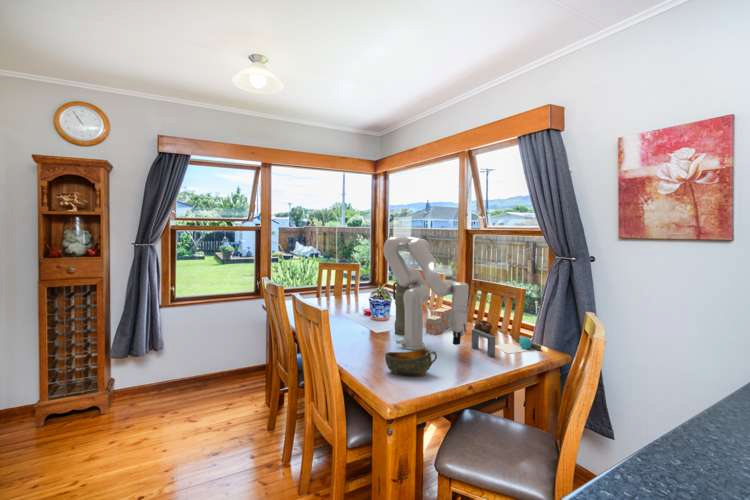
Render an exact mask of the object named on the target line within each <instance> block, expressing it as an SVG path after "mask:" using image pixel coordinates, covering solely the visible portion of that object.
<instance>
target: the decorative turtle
mask: <svg viewBox="0 0 750 500" xmlns="http://www.w3.org/2000/svg"><path fill="white" fill-rule="evenodd" d="M492 328H493V325H492V324H491V323H490V322H489V321H486V320H479V321H478V322H475V324H474V326H473V330H474V329H477V330H480V331H482V332H485V333H487V334H490V332H491V331H492Z"/></svg>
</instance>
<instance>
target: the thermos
mask: <svg viewBox="0 0 750 500" xmlns="http://www.w3.org/2000/svg"><path fill="white" fill-rule="evenodd" d="M392 285H393V286H392V288H393V289H392V294H393V295H392V297H393V298H392V299H393V300H394V304H395V320H394V334H395V335H398V336H405V307H404V300H403V296H404V293H405V291H406V290H407V289H408V288H410V287H409V286H405V287H403V286H401V285H399V283H398V282H397V280H395V282H394V283H393V284H392Z"/></svg>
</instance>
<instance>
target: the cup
mask: <svg viewBox="0 0 750 500" xmlns="http://www.w3.org/2000/svg"><path fill="white" fill-rule="evenodd" d="M431 355H434V358H433V360H432V357H431ZM384 357H385V363H386V366H387V368H388V369H389V371H390V372H391V374H392V375H395V376H399V377H406V378H420V377H424V376H425V375H426V373H427V372H428V371H429V370H430V368H431V367H432V365H433V364H434V363H435V361H436V360H437V359H438V354H437V352H436V351H433V350H432V351H430V350H429V349H427V348H426V349H425V348H423V349H420V350H410V351H402V352H397V351H395V352H393V351H392V352H391V351H390V352H389V351H388V352H385V353H384Z"/></svg>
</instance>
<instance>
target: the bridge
mask: <svg viewBox="0 0 750 500" xmlns="http://www.w3.org/2000/svg"><path fill="white" fill-rule="evenodd" d="M480 337H483V338H484V339H487V350H486V351H487V354H486V356H487V357H489V358H495V357H496V348H495V345H496V336H495V335H492V334H490V333H489V334H487V333H485V332H482V331H480V330H477V329H474V328H473V329H471V349H473V350H479V346H480V345H479V343H480V341H479V340H480Z"/></svg>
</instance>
